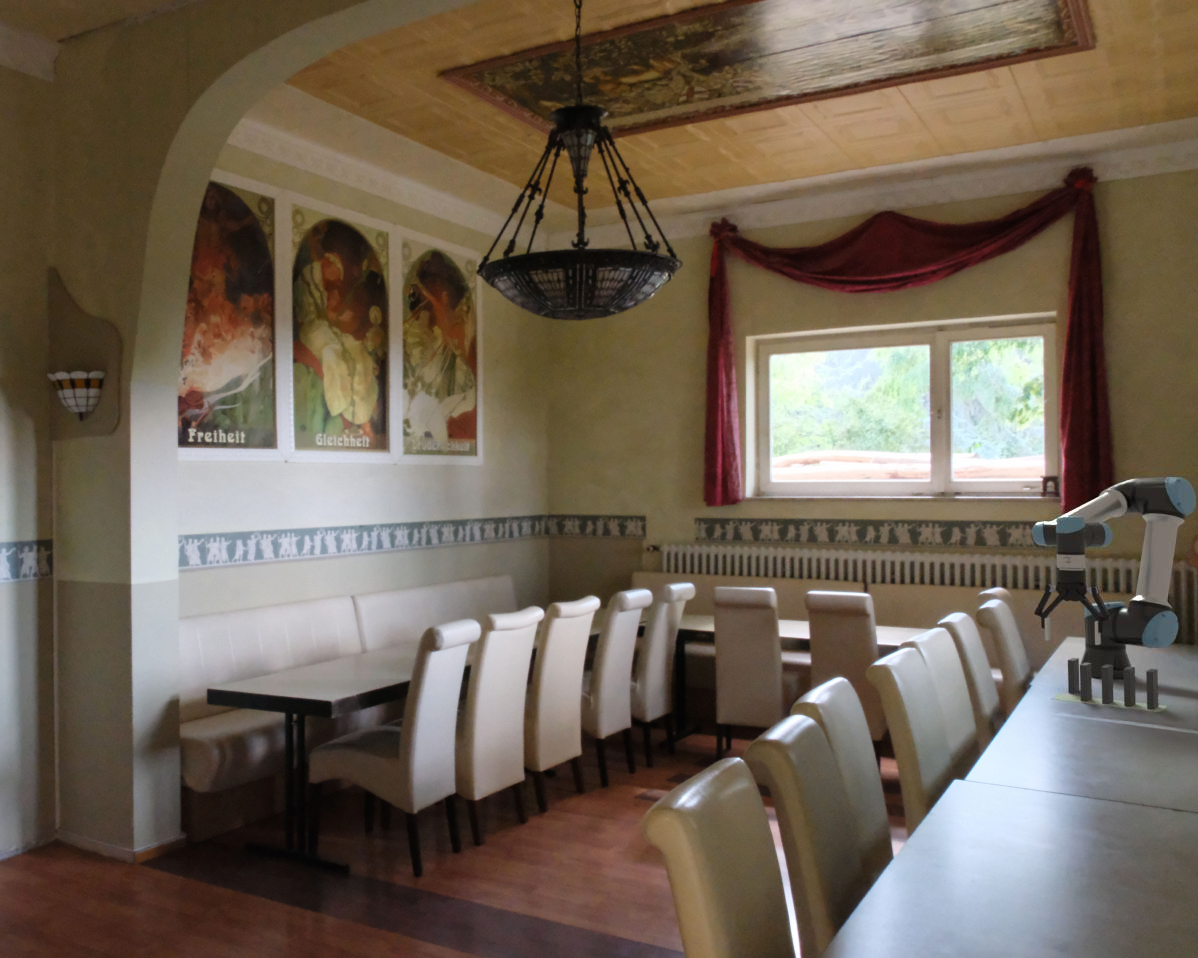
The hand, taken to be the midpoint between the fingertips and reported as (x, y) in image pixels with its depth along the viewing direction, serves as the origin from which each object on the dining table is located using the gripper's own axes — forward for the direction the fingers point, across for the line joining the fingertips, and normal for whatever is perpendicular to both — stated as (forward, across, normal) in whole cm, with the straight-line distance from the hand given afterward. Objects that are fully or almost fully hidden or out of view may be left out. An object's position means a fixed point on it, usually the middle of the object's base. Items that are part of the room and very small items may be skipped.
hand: (1072, 642), depth 283 cm
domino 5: (+14, +23, -10) cm, 28 cm away
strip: (+15, +12, -10) cm, 21 cm away
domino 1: (+15, 0, 0) cm, 15 cm away
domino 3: (+14, +12, -10) cm, 21 cm away
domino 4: (+14, +17, -10) cm, 24 cm away
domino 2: (+14, +6, -10) cm, 18 cm away
